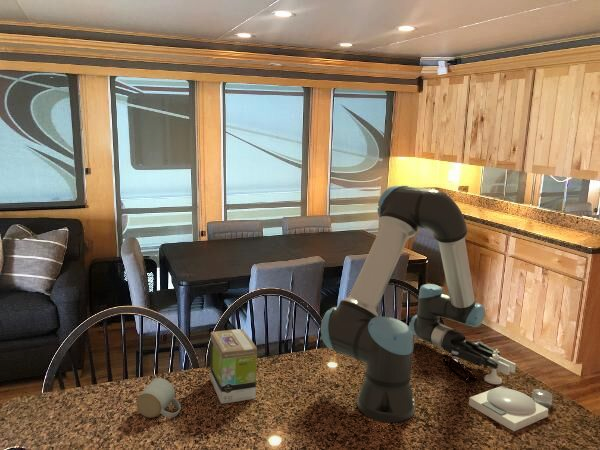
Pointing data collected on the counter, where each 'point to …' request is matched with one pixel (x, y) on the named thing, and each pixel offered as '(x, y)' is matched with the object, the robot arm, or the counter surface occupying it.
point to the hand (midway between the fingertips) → (511, 369)
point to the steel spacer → (542, 397)
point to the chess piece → (494, 372)
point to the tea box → (233, 365)
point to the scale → (508, 407)
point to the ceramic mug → (157, 399)
